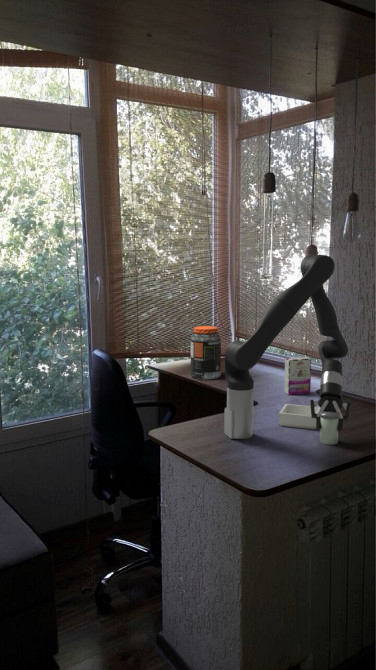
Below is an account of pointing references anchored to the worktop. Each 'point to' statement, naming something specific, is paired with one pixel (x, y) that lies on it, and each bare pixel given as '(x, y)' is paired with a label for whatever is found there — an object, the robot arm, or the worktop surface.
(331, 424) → the jar
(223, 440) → the worktop surface
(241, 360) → the robot arm
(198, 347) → the supplement tub
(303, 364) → the candy bar box
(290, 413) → the tray
